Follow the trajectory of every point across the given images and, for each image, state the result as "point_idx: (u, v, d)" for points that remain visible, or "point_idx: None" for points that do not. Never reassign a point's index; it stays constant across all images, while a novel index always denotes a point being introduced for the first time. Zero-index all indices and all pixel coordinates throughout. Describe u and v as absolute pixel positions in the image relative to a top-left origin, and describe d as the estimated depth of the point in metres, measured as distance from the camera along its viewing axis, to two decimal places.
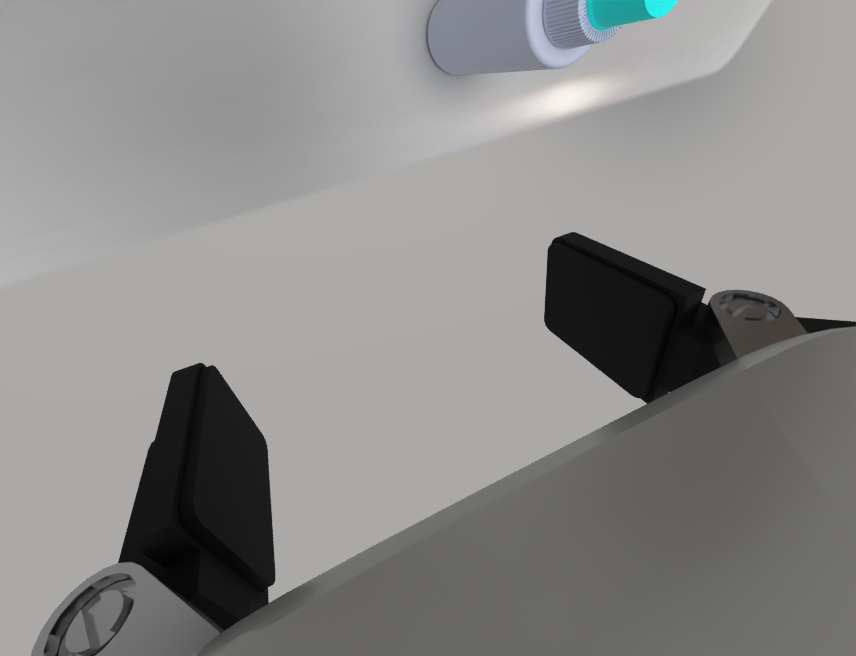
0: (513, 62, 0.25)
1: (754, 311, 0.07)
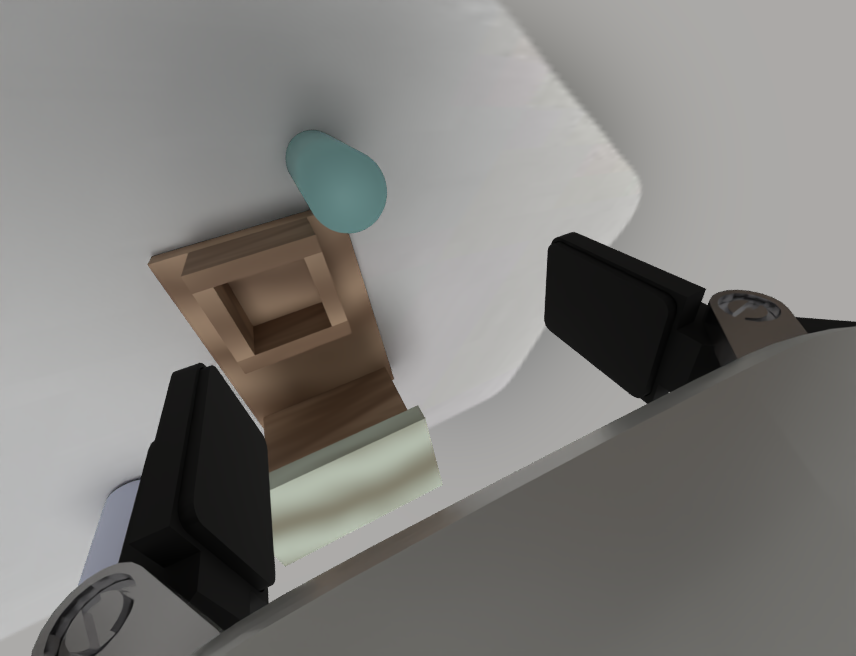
0: None
1: (754, 311, 0.07)
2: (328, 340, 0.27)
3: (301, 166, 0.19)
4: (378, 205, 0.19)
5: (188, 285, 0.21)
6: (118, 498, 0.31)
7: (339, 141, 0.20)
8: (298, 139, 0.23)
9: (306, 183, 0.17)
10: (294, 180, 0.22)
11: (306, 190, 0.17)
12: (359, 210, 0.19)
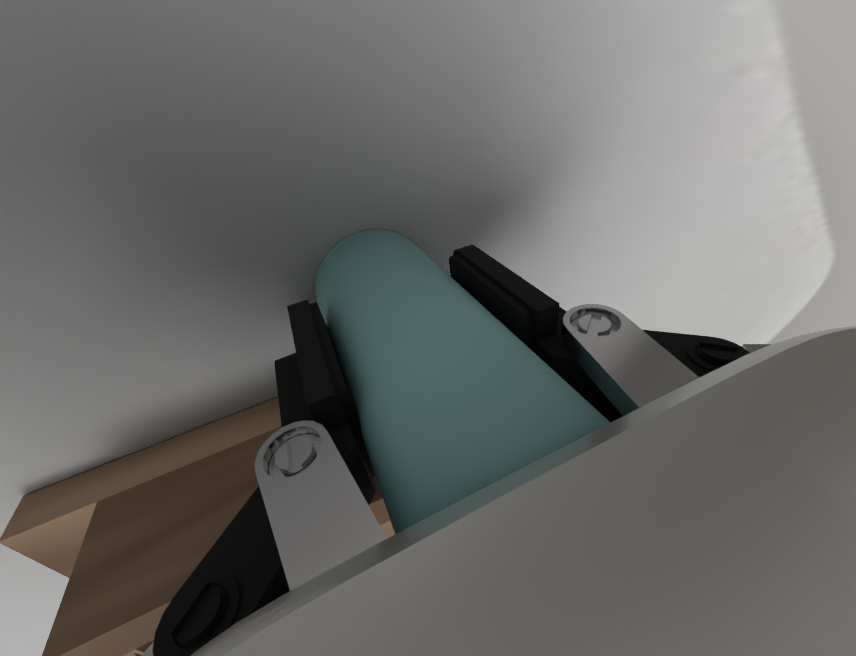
0: None
1: (600, 323, 0.07)
2: None
3: (395, 452, 0.06)
4: None
5: None
6: None
7: (487, 324, 0.07)
8: (350, 267, 0.10)
9: None
10: None
11: None
12: None
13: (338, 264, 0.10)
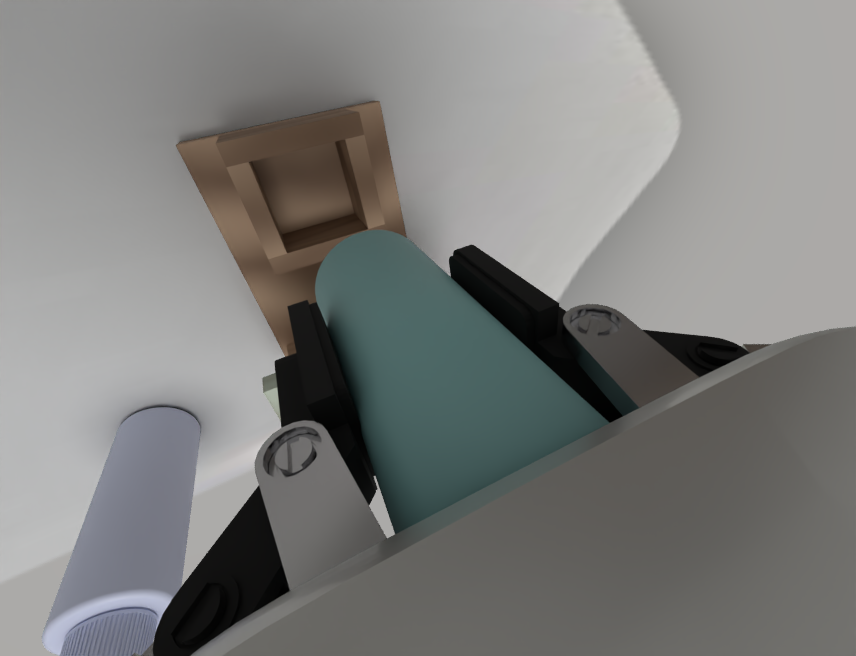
0: None
1: (600, 323, 0.07)
2: None
3: (395, 453, 0.06)
4: None
5: (222, 155, 0.20)
6: (133, 424, 0.29)
7: (487, 325, 0.07)
8: (350, 268, 0.10)
9: None
10: None
11: None
12: None
13: (338, 265, 0.10)
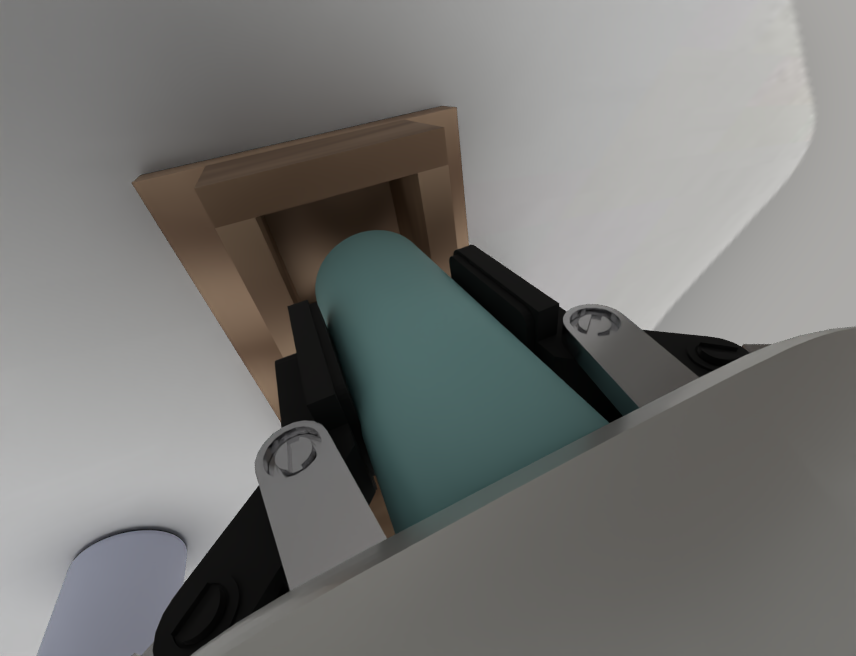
0: None
1: (600, 324, 0.07)
2: None
3: (395, 453, 0.06)
4: None
5: (208, 209, 0.11)
6: (87, 567, 0.20)
7: (487, 326, 0.07)
8: (351, 268, 0.10)
9: None
10: None
11: None
12: None
13: (338, 265, 0.10)
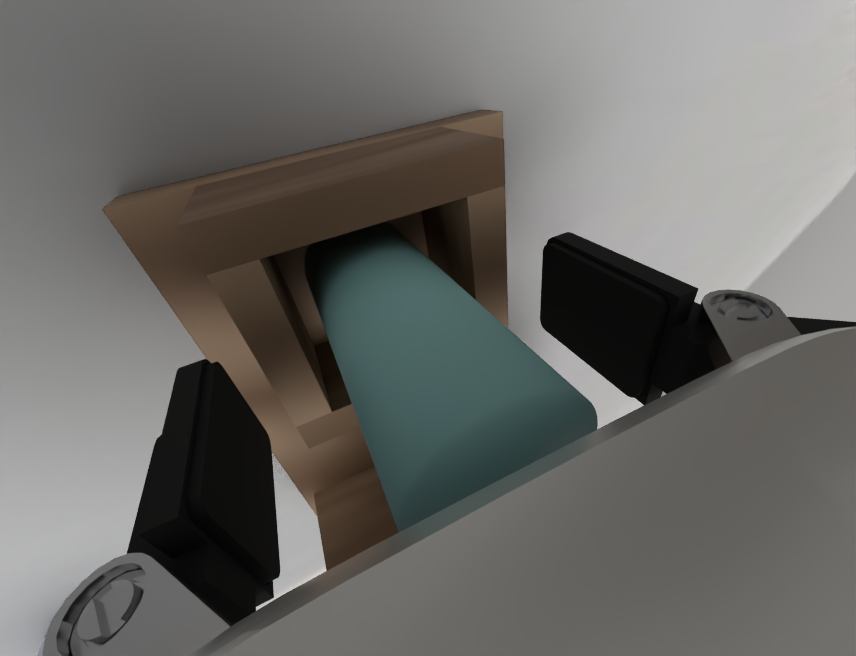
0: None
1: (746, 311, 0.07)
2: None
3: (365, 377, 0.07)
4: None
5: (197, 251, 0.08)
6: None
7: (444, 284, 0.09)
8: (335, 245, 0.11)
9: (401, 494, 0.05)
10: (329, 341, 0.10)
11: (399, 510, 0.06)
12: None
13: (324, 243, 0.12)
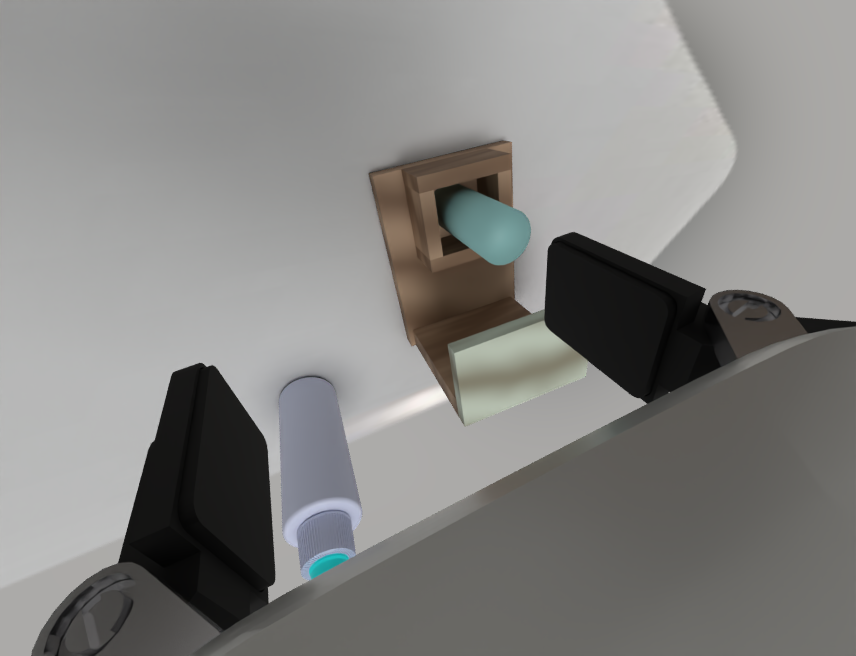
0: None
1: (754, 311, 0.07)
2: None
3: (468, 217, 0.26)
4: (522, 245, 0.26)
5: (419, 185, 0.27)
6: (297, 388, 0.37)
7: (489, 197, 0.28)
8: (447, 191, 0.30)
9: (481, 231, 0.25)
10: (447, 222, 0.30)
11: (480, 236, 0.25)
12: (509, 249, 0.26)
13: (442, 191, 0.31)
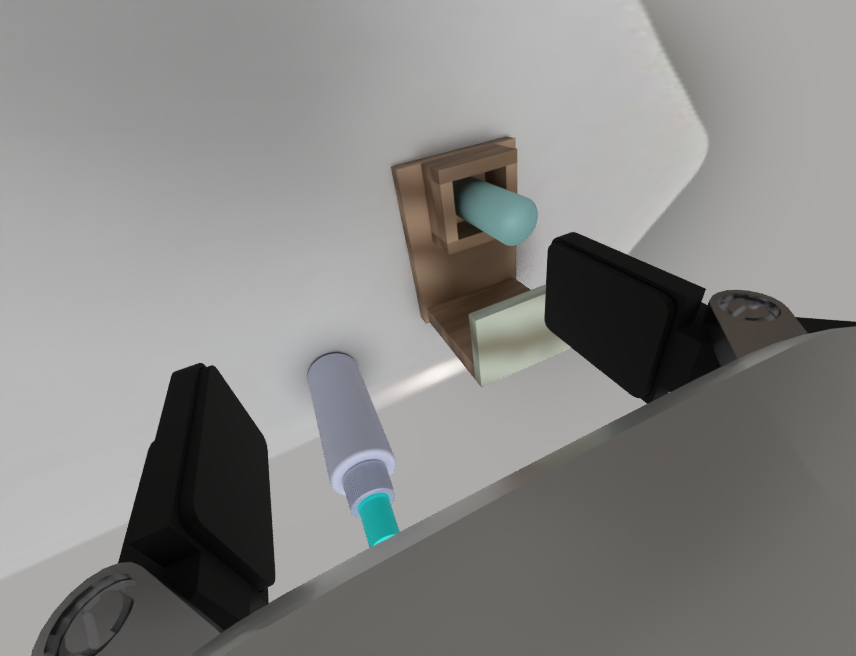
0: None
1: (754, 311, 0.07)
2: None
3: (484, 204, 0.31)
4: (530, 228, 0.31)
5: (440, 177, 0.32)
6: (325, 362, 0.41)
7: None
8: (461, 182, 0.35)
9: (497, 216, 0.29)
10: (462, 210, 0.34)
11: (497, 220, 0.29)
12: (520, 232, 0.30)
13: (456, 182, 0.35)
